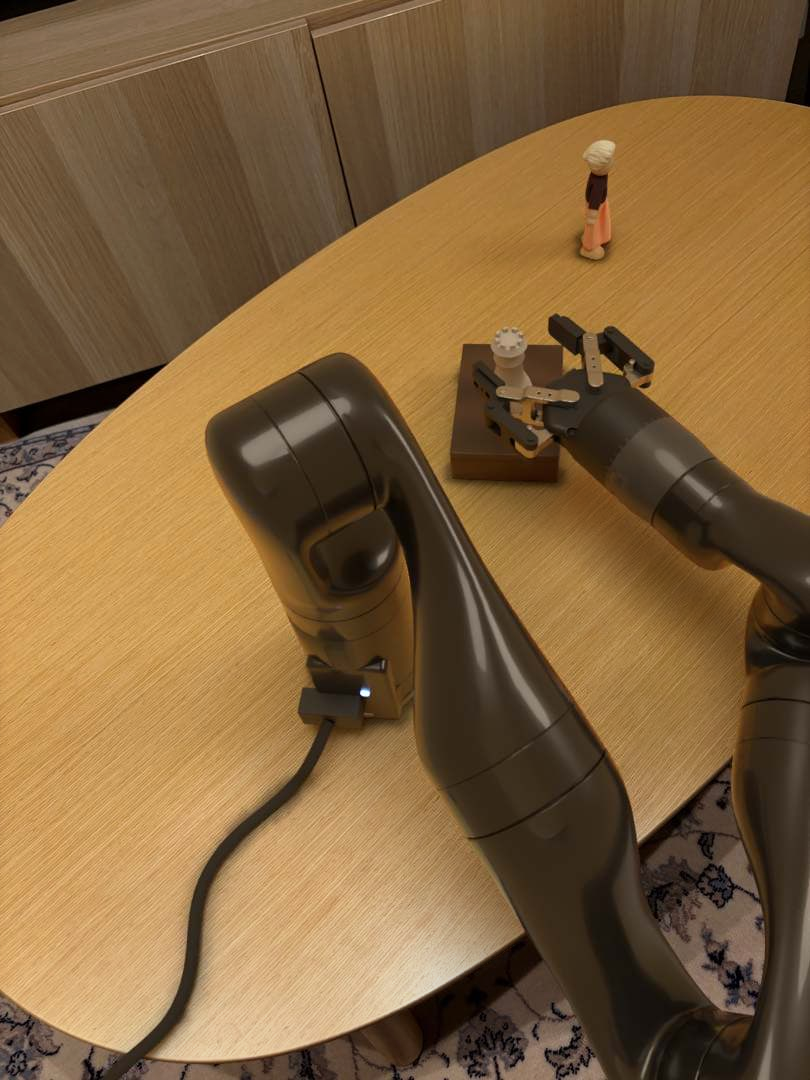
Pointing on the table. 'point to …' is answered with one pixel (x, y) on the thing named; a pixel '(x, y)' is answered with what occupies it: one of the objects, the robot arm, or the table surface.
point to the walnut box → (479, 448)
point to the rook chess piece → (510, 357)
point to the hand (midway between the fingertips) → (513, 345)
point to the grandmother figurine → (597, 199)
